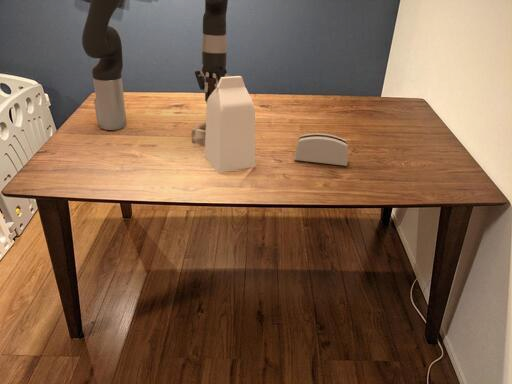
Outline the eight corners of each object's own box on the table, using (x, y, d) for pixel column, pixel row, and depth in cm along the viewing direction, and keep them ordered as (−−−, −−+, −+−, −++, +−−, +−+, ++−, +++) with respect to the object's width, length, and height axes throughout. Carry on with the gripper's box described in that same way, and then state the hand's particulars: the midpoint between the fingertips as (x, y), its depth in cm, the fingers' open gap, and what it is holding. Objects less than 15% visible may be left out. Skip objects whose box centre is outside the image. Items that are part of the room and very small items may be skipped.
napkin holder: (346, 162, 129) (351, 134, 123) (346, 170, 125) (352, 141, 120) (294, 156, 131) (297, 128, 125) (293, 163, 127) (296, 135, 121)
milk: (218, 172, 118) (219, 83, 105) (204, 157, 126) (203, 73, 114) (255, 166, 123) (260, 80, 110) (239, 152, 131) (242, 71, 119)
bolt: (219, 125, 132) (220, 79, 125) (204, 124, 133) (204, 78, 126) (222, 120, 138) (223, 75, 130) (208, 118, 138) (208, 74, 131)
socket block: (191, 143, 136) (191, 129, 134) (210, 133, 145) (210, 119, 143) (218, 150, 132) (218, 135, 130) (235, 139, 141) (236, 125, 139)
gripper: (188, 48, 124) (189, 103, 132) (227, 54, 118) (226, 111, 127) (201, 45, 129) (202, 98, 138) (240, 51, 124) (238, 105, 133)
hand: (214, 104), depth 132 cm, fingers closed on bolt, 3 cm apart
